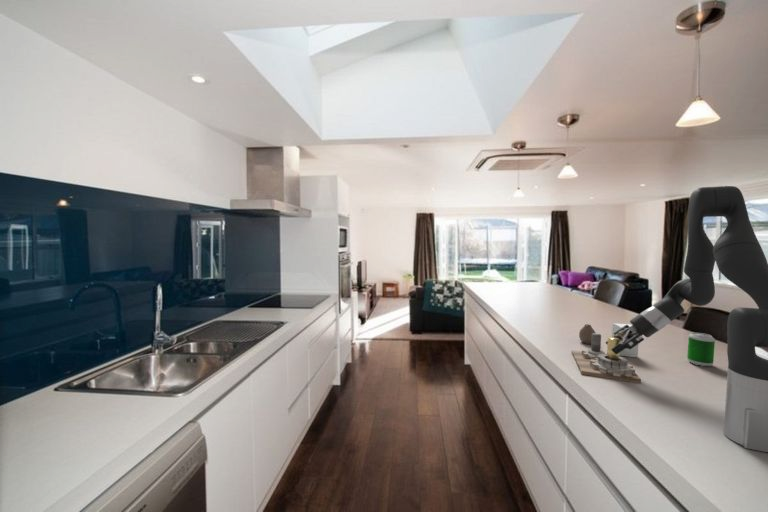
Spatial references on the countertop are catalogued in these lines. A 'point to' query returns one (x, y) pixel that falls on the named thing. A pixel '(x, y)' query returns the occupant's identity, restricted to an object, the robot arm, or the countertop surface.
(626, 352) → the supplement box
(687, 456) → the countertop surface
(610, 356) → the brass axle
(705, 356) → the soda can
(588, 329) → the vase
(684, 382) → the countertop surface
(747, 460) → the countertop surface
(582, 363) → the gear board
